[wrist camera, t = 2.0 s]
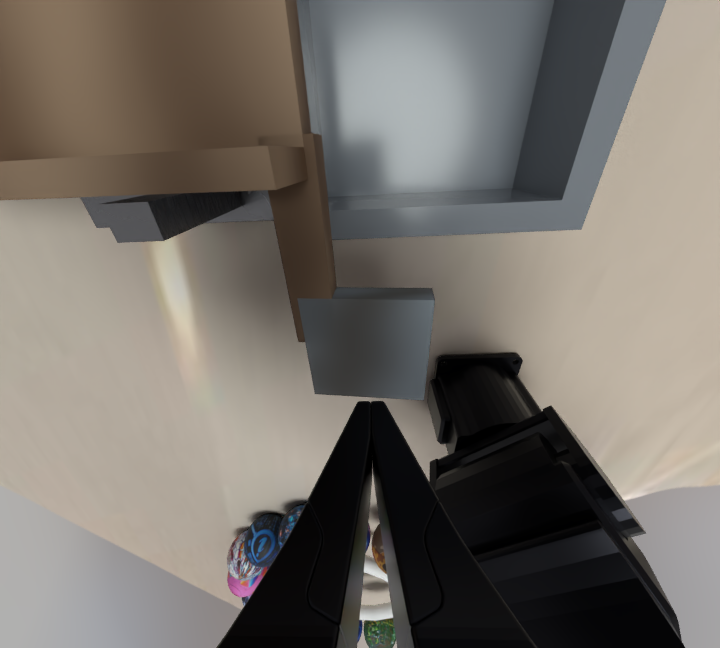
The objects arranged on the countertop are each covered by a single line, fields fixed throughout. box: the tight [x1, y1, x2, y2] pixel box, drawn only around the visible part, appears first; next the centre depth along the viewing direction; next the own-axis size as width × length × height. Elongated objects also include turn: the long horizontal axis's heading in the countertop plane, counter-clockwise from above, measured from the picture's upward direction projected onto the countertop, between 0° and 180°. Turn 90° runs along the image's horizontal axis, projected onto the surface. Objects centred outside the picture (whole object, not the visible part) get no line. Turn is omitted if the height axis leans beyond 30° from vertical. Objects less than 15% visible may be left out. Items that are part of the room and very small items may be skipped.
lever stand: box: [80, 190, 274, 243], centre depth 10 cm, size 12×12×8 cm
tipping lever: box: [0, 0, 435, 400], centre depth 9 cm, size 23×16×4 cm
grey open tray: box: [296, 0, 666, 240], centre depth 11 cm, size 12×12×5 cm
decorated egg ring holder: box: [227, 505, 396, 648], centre depth 40 cm, size 35×35×9 cm
